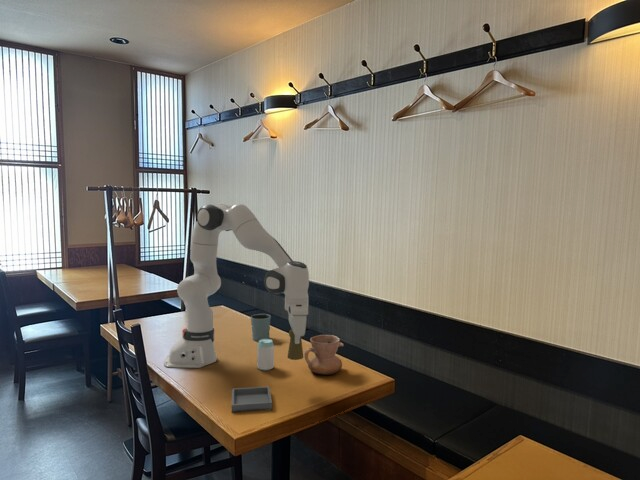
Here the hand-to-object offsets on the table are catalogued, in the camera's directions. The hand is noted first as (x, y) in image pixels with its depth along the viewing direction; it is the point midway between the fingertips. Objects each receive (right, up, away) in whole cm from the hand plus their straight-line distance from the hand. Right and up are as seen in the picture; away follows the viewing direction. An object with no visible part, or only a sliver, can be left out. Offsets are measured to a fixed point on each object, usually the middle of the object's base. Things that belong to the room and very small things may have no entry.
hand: (295, 340), depth 169 cm
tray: (-15, -20, -10) cm, 27 cm away
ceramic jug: (+11, -18, +20) cm, 29 cm away
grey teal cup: (-22, -13, +62) cm, 67 cm away
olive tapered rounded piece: (0, -7, +1) cm, 7 cm away
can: (-14, -17, +22) cm, 31 cm away
